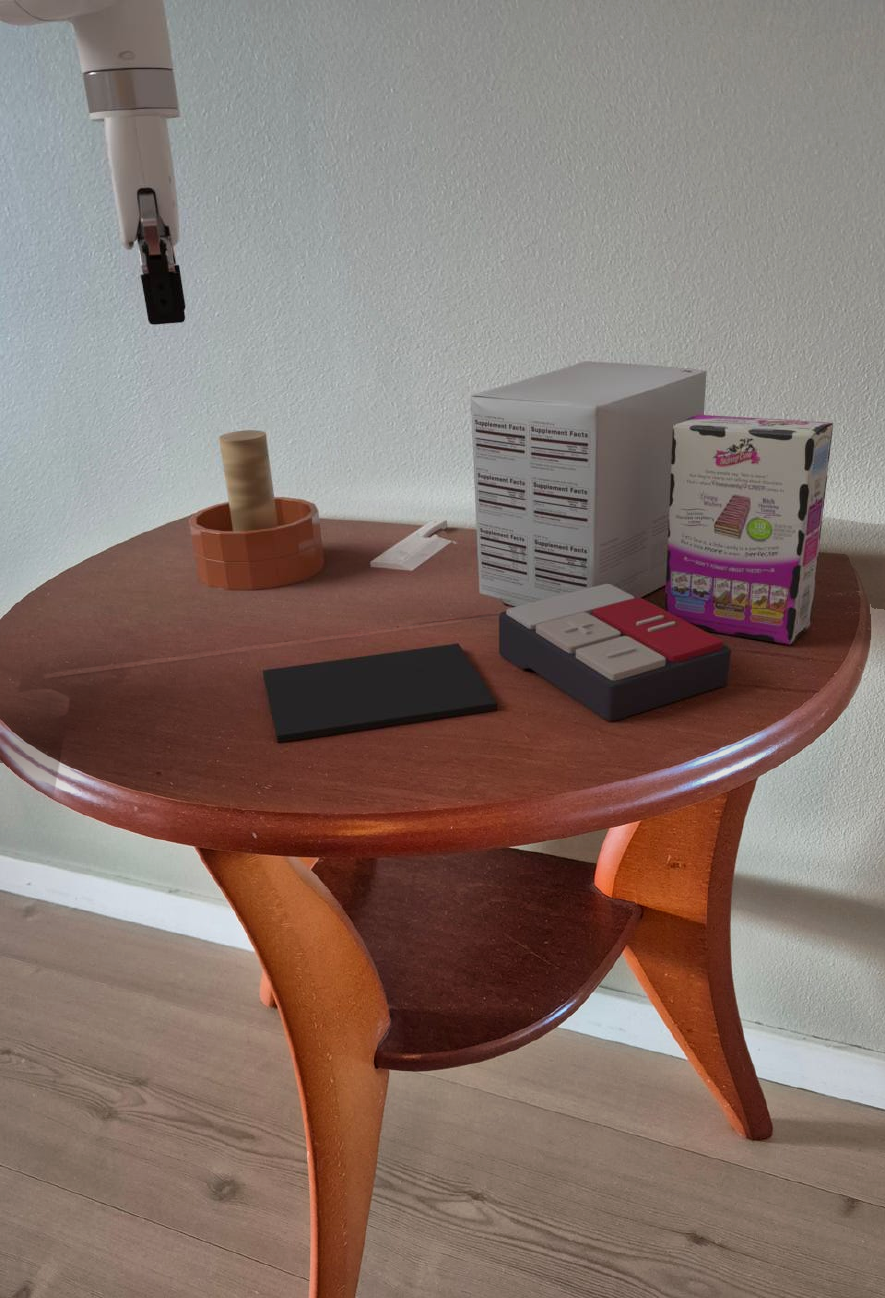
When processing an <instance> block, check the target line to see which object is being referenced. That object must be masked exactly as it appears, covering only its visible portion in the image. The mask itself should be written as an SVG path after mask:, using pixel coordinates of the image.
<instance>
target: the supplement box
mask: <svg viewBox="0 0 885 1298" xmlns="http://www.w3.org/2000/svg"><path fill="white" fill-rule="evenodd" d="M706 386H707V370H703V369H697V368H686V367H676V366H663V365H651V364H638V363H623V362H621V363H620V362H607V361H606V362H604V361H589V360H584V361H581V362H578V363H575V364H572V365H569V366H566V367H563V368H559V369H556V370H553V371H550V372H546V373H543V374H539V375H535V376H532V377H529V378H525V379H522V380H519V381H515V382H512V383H509V384H506V385H502V386H498V387H494V388H491V389H488V390H484V391H480V392H476V393H472V394H471V395H470V414H471V416H470V417H471V437H472V458H473V481H474V484H473V485H474V503H475V525H476V526H475V527H476V528H475V529H476V549H477V550H476V551H477V566H478V568H477V569H478V589H479V590H478V591H479V594H481V595H484V596H488V597H491V598H495V599H499V600H500V602H501V603H502V604H505V605H508V606H512V607H517V606H521V605H525V604H529V603H533V602H537V601H540V600H544V599H548V598H552V597H556V596H560V595H564V594H568V593H572V592H576V591H579V590H583V589H587V588H591V587H595V586H599V585H603V584H611V585H613V586H615V587H617V588H619V589H621V590H622V591H624V592H626V593H628V594H630V595H632V596H634V597H635V598H643V597H645V596H647V595H649V594H651V593H652V592H654V591H657V590H658V589H660V588H662V587H664V586H666V569H667V548H668V523H669V504H670V482H671V458H672V456H671V453H672V432H673V426H674V425H676V424H678V423H680V422H683V421H685V420H686V419H688V418H691V417H693V416H696V415H705V405H706V404H705V403H706V391H707V390H706V388H707V387H706Z"/></svg>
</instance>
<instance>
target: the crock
mask: <svg viewBox="0 0 885 1298" xmlns="http://www.w3.org/2000/svg"><path fill="white" fill-rule="evenodd" d="M274 499H275V506H276V514H277V522H278V527H274V528H269V529H261V530H252V531H233V527H232V520H231V514H230V507H229V501H227V502H221V503H216V504H214V505H211V506H208V507H206V508H203V509H201V510H198V511H197V512H195V513H194V514H193V515H192V516H190V517H189V518H188V521H189V522H188V523H189V529H190V536H191V541H192V547H193V552H194V553H193V554H194V559H195V564H196V571H197V577H198V581H199V582H201V583H202V584H204V585H206V586H208V587H211V588H214V589H219V590H225V591H226V590H227V591H241V592H242V591H259V590H269V589H275V588H281V587H287V586H291V585H293V584H297V583H300V582H303V581H306V580H308V579H310V578H313V576H315V575H317V574H319V572H320V571H321V570H322V569H323V567H324V566H325V559H324V549H323V541H322V532H321V522H320V521H321V520H320V514H319V509H318V507H317V504H315V503H314V502H310V501H308V500H306V499H302V498H295V497H288V496H287V497H286V496H274Z"/></svg>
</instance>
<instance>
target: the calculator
mask: <svg viewBox="0 0 885 1298" xmlns="http://www.w3.org/2000/svg"><path fill="white" fill-rule="evenodd" d="M498 654H499V655H500V656H501V657H503V658H504V659H506V660H507V661H508V662H510V663H511V664H513V665H514V666H516V667H517V668H519V669H520V670H522V671H525V670H528V669H530V670H532V671H533V672H534V673H536V674H538V675H539V676H540V677H542V678H544V679H545V680H547V681H548V682H549V683H551V684H553V685H554V686H555V687H557V688H558V689H559V690H561V691H562V692H564V693H566V694H567V695H569V696H570V697H571V698H573V699H575V700H576V701H578V702H579V703H580V704H582V705H583V706H585V707H586V708H588V709H589V710H590V711H592V712H593V713H595V714H597V715H598V716H599V717H601V718H602V719H604V720H605V721H607V722H615V721H616V722H617V721H619V720H622V719H625V718H629V717H632V716H635V715H638V714H640V713H644V712H648V711H650V710H653V709H657V708H659V707H662V706H666V705H668V704H672V703H675V702H679V701H682V700H685V699H688V698H691V697H695V696H697V695H701V694H704V693H707V692H709V691H713V690H715V689H720V688H723V687H724V686H726V685H727V684H728V677H729V671H730V663H731V655H732V649H731V648H730V647H729V646H727V645H725V644H724V641H723V640H722V639H721V638H719V637H717V636H715V635H713V634H711V633H709V632H708V631H705V630H702V629H700V628H698V627H696V626H694V625H692V624H690V623H688V622H686V621H684V620H682V619H680V618H679V617H677V616H675V615H673V614H671V613H669V612H667V611H665V610H664V609H663V608H662V607H660V606H658V605H655V604H654V603H651V602H649V601H648V600H646V599H645V598H643V597H641V598H635V597H634V596H632V595H630V594H628V593H626V592H624V591H622V590H621V589H619V588H617V587H615V586H613V585H611V584H603V585H599V586H595V587H591V588H587V589H583V590H579V591H576V592H572V593H568V594H564V595H560V596H556V597H552V598H548V599H544V600H540V601H537V602H533V603H529V604H525V605H521V606H517V607H516V606H512V607H510V608H507V609H506V610H505V611H501V612H500V613H498Z"/></svg>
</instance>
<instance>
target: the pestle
mask: <svg viewBox="0 0 885 1298" xmlns="http://www.w3.org/2000/svg"><path fill="white" fill-rule="evenodd" d="M267 439H268V438H267V433H266V431H262V430H256V429H249V430H248V429H247V430H237V431H236V430H235V431H231V432H227V433H223V434H222V435H220V436H219V437H218V441H219V447H220V453H221V460H222V468H223V474H224V480H225V487H226V494H227V499H228V500H227V502H229V507H230V514H231V520H232V527H233V531H252V530H261V529H269V528H274V527H278V522H277V514H276V506H275V499H274V497H275V491H274V486H273V485H274V484H273V476H272V469H271V461H270V453H269V445H268V440H267Z"/></svg>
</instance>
